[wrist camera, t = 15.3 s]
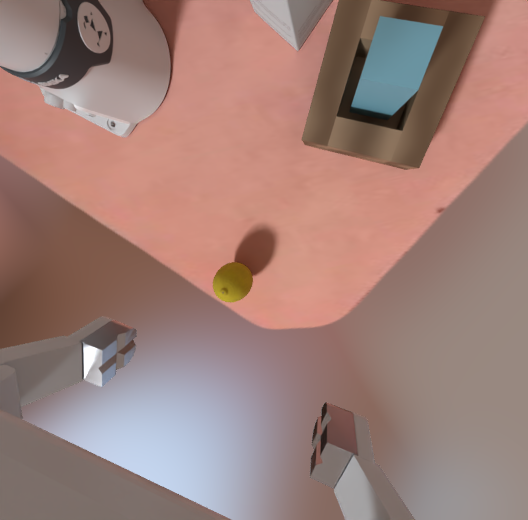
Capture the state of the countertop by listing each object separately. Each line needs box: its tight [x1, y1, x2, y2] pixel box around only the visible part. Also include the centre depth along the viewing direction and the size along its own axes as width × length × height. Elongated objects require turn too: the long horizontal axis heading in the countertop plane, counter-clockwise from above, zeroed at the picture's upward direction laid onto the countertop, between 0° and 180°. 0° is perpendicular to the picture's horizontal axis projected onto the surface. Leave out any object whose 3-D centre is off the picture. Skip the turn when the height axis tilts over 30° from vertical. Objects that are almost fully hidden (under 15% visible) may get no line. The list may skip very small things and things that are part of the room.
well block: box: [302, 0, 485, 169], centre depth 28 cm, size 13×13×5 cm
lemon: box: [213, 262, 253, 302], centre depth 38 cm, size 6×6×8 cm
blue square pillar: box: [349, 16, 443, 120], centre depth 24 cm, size 4×4×11 cm
